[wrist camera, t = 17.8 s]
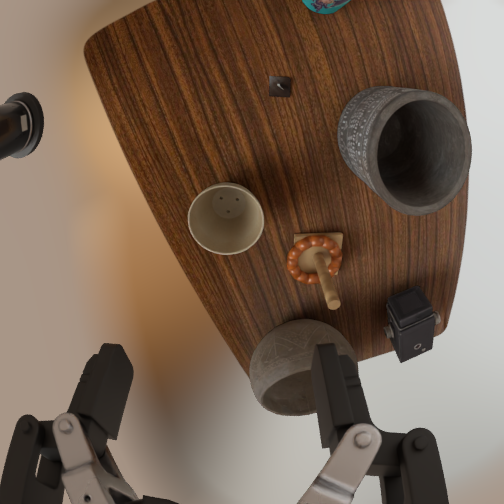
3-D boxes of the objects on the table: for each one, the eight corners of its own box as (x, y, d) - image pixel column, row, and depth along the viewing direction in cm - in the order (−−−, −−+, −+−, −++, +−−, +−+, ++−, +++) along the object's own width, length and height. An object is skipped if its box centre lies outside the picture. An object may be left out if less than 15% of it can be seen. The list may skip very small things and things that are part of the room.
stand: (292, 273, 51) (303, 327, 40) (294, 233, 47) (307, 283, 36) (336, 271, 51) (356, 323, 40) (341, 232, 47) (367, 279, 36)
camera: (419, 312, 59) (419, 269, 50) (438, 350, 50) (445, 310, 41) (379, 329, 61) (372, 289, 53) (395, 369, 52) (393, 335, 44)
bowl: (364, 322, 58) (385, 378, 45) (306, 373, 68) (314, 425, 55) (286, 285, 52) (295, 350, 40) (231, 349, 62) (229, 407, 49)
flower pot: (274, 208, 44) (279, 230, 38) (223, 241, 47) (219, 266, 41) (235, 156, 40) (233, 170, 34) (183, 195, 43) (172, 215, 37)
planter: (325, 172, 41) (359, 214, 29) (331, 78, 34) (373, 76, 21) (406, 178, 41) (458, 219, 29) (417, 94, 34) (479, 107, 21)
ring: (285, 280, 51) (286, 287, 49) (287, 233, 46) (288, 239, 44) (336, 278, 50) (338, 284, 49) (343, 232, 46) (346, 238, 44)
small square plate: (269, 96, 35) (268, 96, 34) (269, 76, 34) (269, 75, 33) (289, 97, 35) (290, 97, 34) (290, 77, 34) (291, 76, 33)
